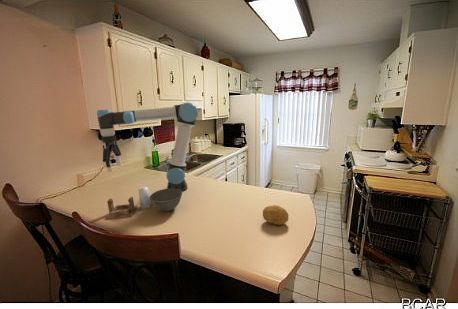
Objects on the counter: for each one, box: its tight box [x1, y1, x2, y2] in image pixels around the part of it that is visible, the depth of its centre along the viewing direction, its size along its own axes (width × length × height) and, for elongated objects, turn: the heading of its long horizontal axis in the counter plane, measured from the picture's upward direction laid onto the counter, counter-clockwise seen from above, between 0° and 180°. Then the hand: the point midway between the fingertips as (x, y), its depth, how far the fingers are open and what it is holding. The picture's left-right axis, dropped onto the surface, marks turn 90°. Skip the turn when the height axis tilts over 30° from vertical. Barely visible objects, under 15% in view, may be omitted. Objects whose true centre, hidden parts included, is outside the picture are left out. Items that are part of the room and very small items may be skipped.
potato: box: [262, 204, 289, 226], centre depth 112 cm, size 10×13×9 cm
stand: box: [105, 196, 138, 220], centre depth 129 cm, size 14×12×9 cm
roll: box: [137, 186, 151, 209], centre depth 136 cm, size 6×6×12 cm
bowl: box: [149, 188, 183, 212], centre depth 131 cm, size 19×19×10 cm
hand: (114, 168), depth 136 cm, fingers open, 13 cm apart
